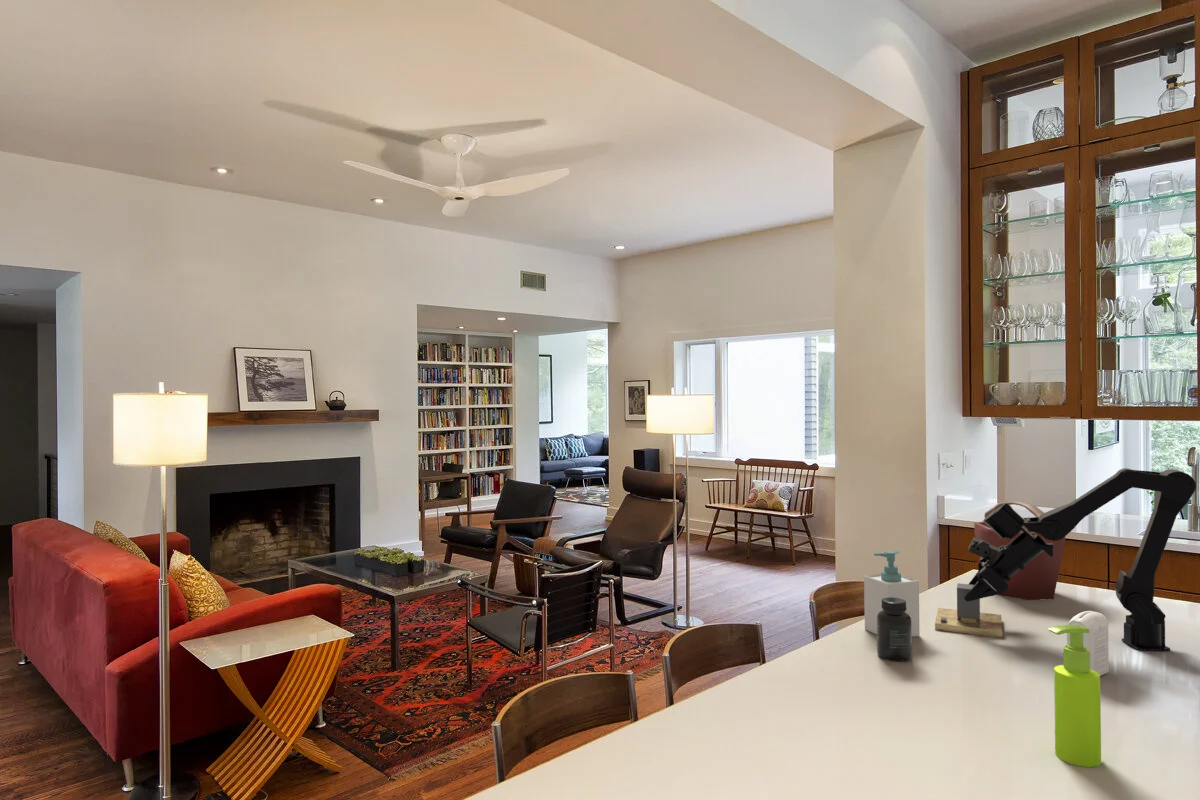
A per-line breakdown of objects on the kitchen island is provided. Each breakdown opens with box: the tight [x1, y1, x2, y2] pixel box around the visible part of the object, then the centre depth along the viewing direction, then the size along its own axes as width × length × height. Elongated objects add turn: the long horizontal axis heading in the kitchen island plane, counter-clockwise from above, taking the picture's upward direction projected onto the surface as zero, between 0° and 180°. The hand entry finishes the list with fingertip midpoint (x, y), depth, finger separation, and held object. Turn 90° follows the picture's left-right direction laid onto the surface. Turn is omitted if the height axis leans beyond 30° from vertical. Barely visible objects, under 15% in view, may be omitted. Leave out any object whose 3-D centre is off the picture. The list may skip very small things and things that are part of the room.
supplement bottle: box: [876, 597, 913, 663], centre depth 155 cm, size 7×7×12 cm
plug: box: [956, 582, 981, 622], centre depth 176 cm, size 5×5×9 cm
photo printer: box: [1066, 610, 1110, 677], centre depth 144 cm, size 10×4×12 cm, turn 123°
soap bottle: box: [863, 550, 921, 638], centre depth 171 cm, size 9×9×19 cm
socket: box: [934, 607, 1004, 639], centre depth 176 cm, size 14×14×2 cm
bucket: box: [973, 501, 1066, 601], centre depth 205 cm, size 24×22×25 cm
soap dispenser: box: [1047, 624, 1102, 768], centre depth 111 cm, size 6×7×20 cm
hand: (965, 595), depth 176 cm, fingers open, 9 cm apart
